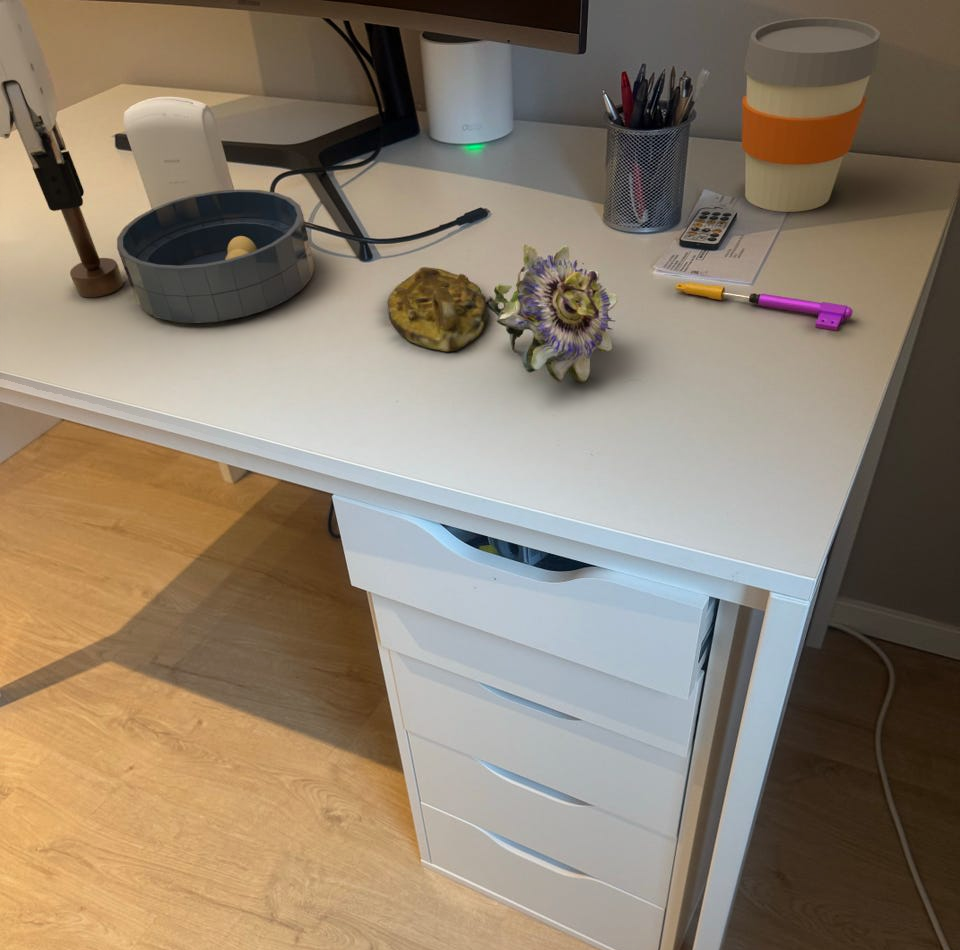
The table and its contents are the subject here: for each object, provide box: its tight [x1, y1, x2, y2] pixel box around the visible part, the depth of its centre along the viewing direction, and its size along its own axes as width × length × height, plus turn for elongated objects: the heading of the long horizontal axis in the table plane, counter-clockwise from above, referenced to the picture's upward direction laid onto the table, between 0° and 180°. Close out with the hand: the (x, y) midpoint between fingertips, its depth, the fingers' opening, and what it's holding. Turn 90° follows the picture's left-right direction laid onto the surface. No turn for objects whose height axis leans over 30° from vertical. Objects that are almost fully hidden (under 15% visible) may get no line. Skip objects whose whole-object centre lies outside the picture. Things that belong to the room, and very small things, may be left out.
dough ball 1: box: [227, 236, 257, 253], centre depth 94 cm, size 3×3×3 cm
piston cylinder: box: [675, 282, 854, 331], centre depth 82 cm, size 3×1×16 cm
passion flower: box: [486, 244, 618, 384], centre depth 76 cm, size 11×11×12 cm
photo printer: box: [123, 96, 235, 209], centre depth 102 cm, size 10×4×12 cm, turn 81°
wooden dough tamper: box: [46, 139, 124, 298], centre depth 90 cm, size 5×5×14 cm
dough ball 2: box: [225, 249, 249, 260], centre depth 91 cm, size 3×3×3 cm
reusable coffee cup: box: [741, 16, 881, 213], centre depth 93 cm, size 12×13×15 cm
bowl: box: [116, 188, 315, 324], centre depth 91 cm, size 18×18×6 cm
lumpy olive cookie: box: [387, 266, 489, 352], centre depth 84 cm, size 9×5×15 cm
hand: (67, 201), depth 89 cm, fingers closed on wooden dough tamper
